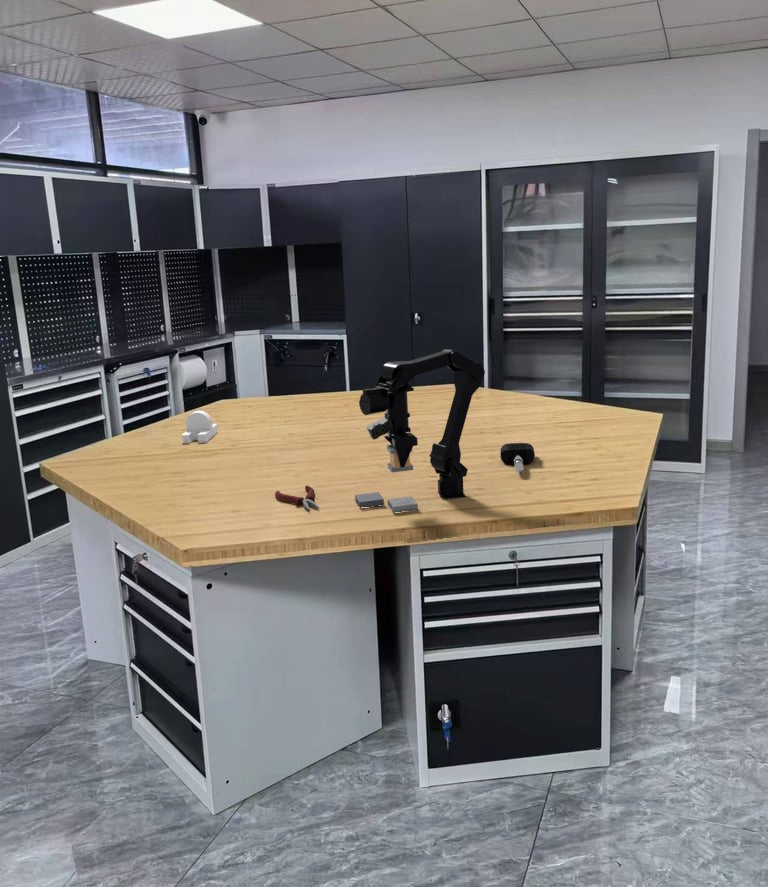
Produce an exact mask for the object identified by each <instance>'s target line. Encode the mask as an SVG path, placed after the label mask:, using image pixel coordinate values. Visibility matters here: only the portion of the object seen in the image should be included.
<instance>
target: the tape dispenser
mask: <svg viewBox="0 0 768 887" xmlns="http://www.w3.org/2000/svg"><path fill="white" fill-rule="evenodd" d="M185 428H186V430H185V432H183V433H182V434H181V438H182V439H181V440H182V444H191V443H192V442H193V441H197V442H198V443H199V444H204V443H208V442H209V441H210V440H211V439H212V438H213V437H214V436H215V435H216V434H217V433H218V431H219V430H218V423H213V420H212V417H211V416H210V415H209V414H208V412H206V411H204V410H196V411H194V412H191V413H190V414H189V415H188V416H187V417H186V421H185Z"/></svg>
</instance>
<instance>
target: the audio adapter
mask: <svg viewBox="0 0 768 887" xmlns="http://www.w3.org/2000/svg"><path fill="white" fill-rule="evenodd" d="M499 455H500V460H501V462H502V463H503V464H504V465H505V466H513V467H514V468H513V469H514V471H515V472H516V473H519V474H520V473H522V472H524V466H529V465H531V464H532V463H533V462H534V460H535V456H536V453H535V449H534V446H533V445H532V444H531V443H529V442H525V443H524V442H514V443H513V442H509V443H505V444H503V445H502V446H501V448H500V454H499Z"/></svg>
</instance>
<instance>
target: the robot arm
mask: <svg viewBox="0 0 768 887" xmlns="http://www.w3.org/2000/svg"><path fill="white" fill-rule="evenodd" d="M445 367H447V368H448V369H449V370H450V371H451V372H453V373H454V375H453V383H454V388H455V389H454V390H455V393H454V395H453V399H452V402H451V405H450V410H449V412H448V417H447V419H446V420H447V421H446V424H445V428H444V431H443V435H442V438H441V440H440V441H439V442H438V443H435V442H434V443H432V447H431V451H430V454H429V456H428V457H430V459H429V462H430V464H431V467H432V468H433V469H434V471H435V474H438V475H439V479H437V493H438V494H439V495H440V497H441V498H443V500H449V499H450V500H451V499H457V498H458V499H459V498H464V497H466V494H465V493H464V478H465V477H467V474H468V468H467V467H466V466H465V465H464V464H462V463H461V457H462V453H461V449H460V441H461V438H462V433H463V429H464V426H465V423H466V419H467V415H468V412H469V409H470V404H471V401H472V397H473V395H474V394H475V392H476V391H477V390H478V389H479V388H480V387H481V385H482V383H483V380H484V378H485V374H486V370H485V369H484V367H483V364H481V363H479V362H474V361H473V360H471V359H470V358H468V357H466V356H464V355H463V354H462V353H460V352H459V351H458V350H456V349H449V348H445V349H443V350H442V351H439V352H435V353H432V354H429V355H426V356H425V355H424V356H422V357H418V358H415V359H412V360H405V361H404V360H401V361H399V360H398V361H397V360H396V361H388V362H386V363H385V364H383V367H382V368H381V372H380V374H379V377H378V378H377V380H376V383H375V384H374V386H373V387H372V388H363V389H362V394H361V395H360V398H359V401H358V403H359V404H358V405H359V409H360V411H361V413H362V414H363V415H364V416H369V415H374V414H380V413H384V418H382V419H378V420H377V421H374V422H372V423H370V424H368V425H367V426H366V429H367V431H368V433H369V437H370V438H372V440H377V439H379V438H380V437H382V436H384V435H385V436H384V437H383V438H385V440H386V441H387V442H388V443H390V445H392V446H393V447H394V448H395V449H396V450H397V454H398V459H399V463H400V467H405V464H406V462H407V460H408V457H409V455H410V454H411V453H412V452H411V450H412V451H413V448H414V447H417V446H418V443H419V442H418V437H417V436H416V435H415V434H414V433H412V431H411V430H412V428H411V427H410V424H409V423H410V422H409V418H410V417H411V414H410V412H409V406H408V405H409V404H408V392H413V391H414V390H415V388H414V387H412V386H411V385H410V383H411V382H412V381H414V379H416V377H419V376H420V375H423V374H426V373H429V372H433V371H436V370H438V369H442V368H445Z"/></svg>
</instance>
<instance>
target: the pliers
mask: <svg viewBox="0 0 768 887" xmlns="http://www.w3.org/2000/svg"><path fill="white" fill-rule="evenodd" d="M304 490H305V491H304V492H306V493H307V494H306V496H305V498H304V497H303V496H297V495H296V496H294V495H290V494H285V493H281V491H279V490H277V491H275V493H274V497H275V498H276V500H278V501H279V502H283V503H287V504H292V505H293V504H294V505H295V507H299V506H302V507H303V506H304V507H303V508H304V509H306V510H307V511H308V512H310V511H311V509H310V508H312V507H313V508H312V509H318V510H320V507H319V506H318V504H317V503H316V500H315V489H314V488H313V487H311V486H309V485H305V486H304ZM310 505H311V506H310Z"/></svg>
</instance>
